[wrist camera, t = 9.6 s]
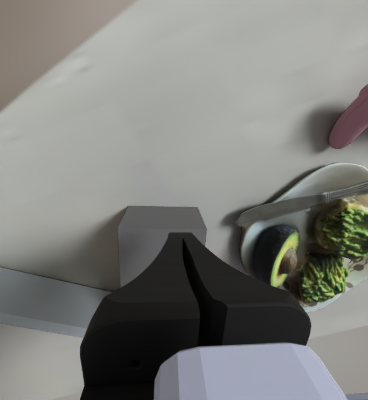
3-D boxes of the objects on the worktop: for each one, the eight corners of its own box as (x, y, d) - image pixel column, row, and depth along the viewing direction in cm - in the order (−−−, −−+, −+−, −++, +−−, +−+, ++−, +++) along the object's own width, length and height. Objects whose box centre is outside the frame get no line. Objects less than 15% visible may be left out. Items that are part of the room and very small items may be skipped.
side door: (130, 296, 24) (121, 334, 19) (126, 306, 24) (117, 346, 20) (-39, 258, 21) (-96, 294, 16) (-40, 271, 21) (-96, 310, 16)
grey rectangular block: (189, 308, 25) (194, 349, 21) (131, 310, 25) (123, 352, 20) (197, 207, 21) (206, 229, 16) (128, 205, 21) (116, 228, 16)
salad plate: (368, 106, 20) (425, 100, 15) (419, 231, 25) (472, 252, 21) (209, 226, 22) (220, 249, 18) (286, 316, 28) (309, 350, 23)
